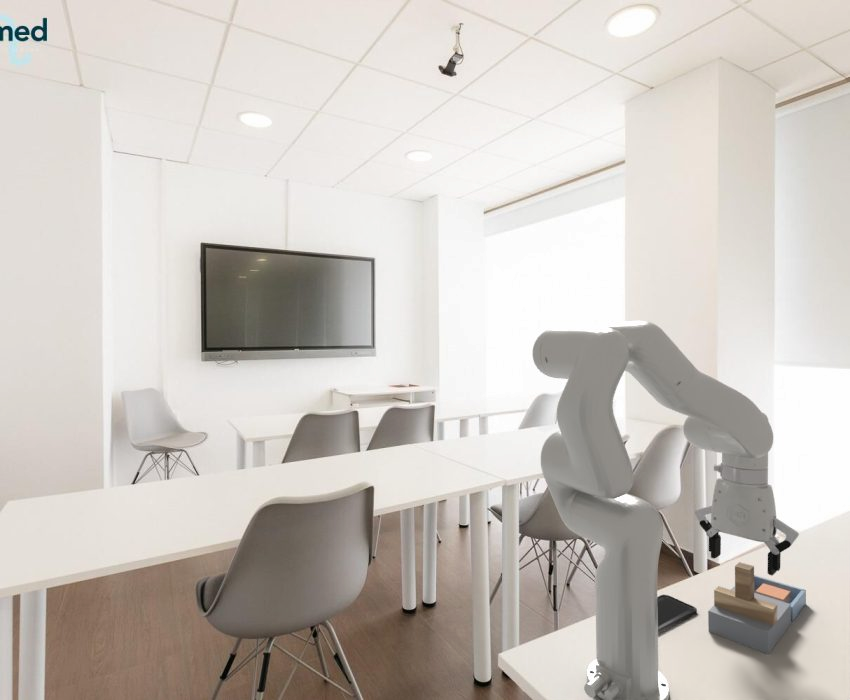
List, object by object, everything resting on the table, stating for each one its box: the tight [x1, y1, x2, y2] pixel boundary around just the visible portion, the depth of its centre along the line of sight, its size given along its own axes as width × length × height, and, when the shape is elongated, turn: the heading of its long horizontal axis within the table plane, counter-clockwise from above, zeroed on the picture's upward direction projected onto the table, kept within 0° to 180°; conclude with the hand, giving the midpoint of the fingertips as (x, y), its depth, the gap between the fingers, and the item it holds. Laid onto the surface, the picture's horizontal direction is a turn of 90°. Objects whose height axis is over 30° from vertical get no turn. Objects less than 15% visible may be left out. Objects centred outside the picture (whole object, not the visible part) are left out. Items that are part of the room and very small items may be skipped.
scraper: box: [713, 561, 777, 625], centre depth 99 cm, size 2×10×9 cm, turn 42°
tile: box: [756, 583, 790, 603], centre depth 110 cm, size 5×5×2 cm
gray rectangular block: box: [707, 586, 792, 655], centre depth 101 cm, size 14×10×4 cm
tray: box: [754, 574, 807, 623], centre depth 109 cm, size 10×10×3 cm
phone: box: [657, 594, 698, 635], centre depth 106 cm, size 8×1×15 cm
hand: (743, 564), depth 99 cm, fingers open, 9 cm apart
